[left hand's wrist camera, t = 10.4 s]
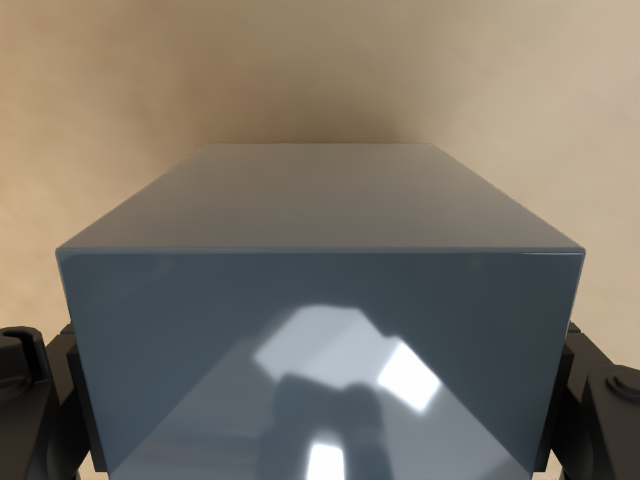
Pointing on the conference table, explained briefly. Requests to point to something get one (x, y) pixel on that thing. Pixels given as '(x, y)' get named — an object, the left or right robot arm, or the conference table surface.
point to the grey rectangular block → (320, 318)
